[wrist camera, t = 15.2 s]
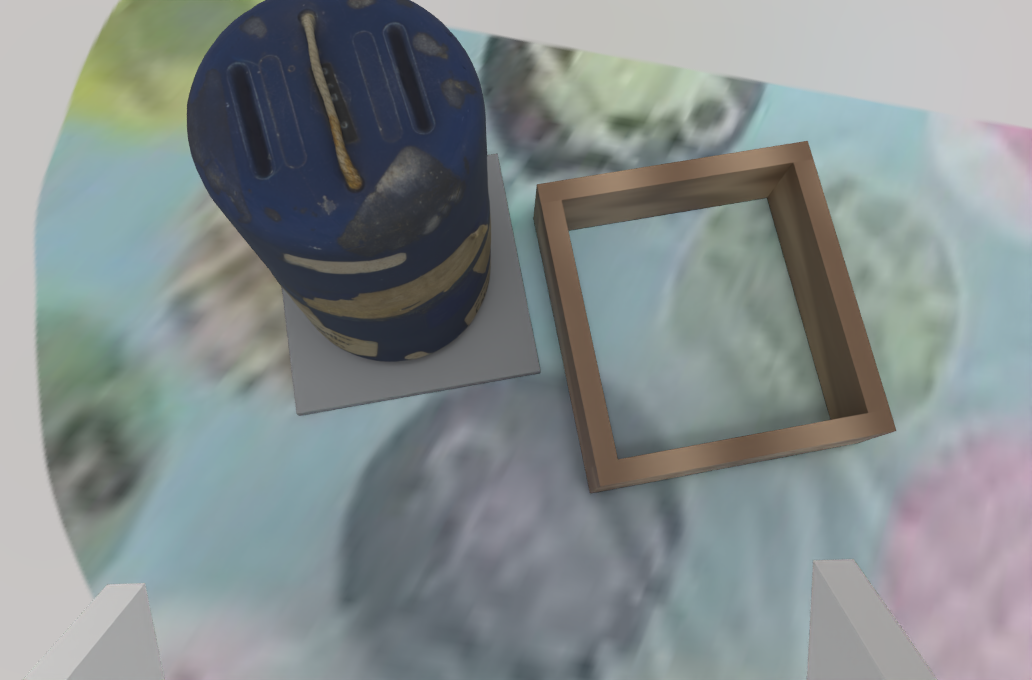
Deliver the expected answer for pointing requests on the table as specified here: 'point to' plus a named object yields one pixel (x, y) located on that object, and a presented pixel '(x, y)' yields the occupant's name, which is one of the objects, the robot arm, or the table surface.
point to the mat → (463, 362)
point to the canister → (352, 166)
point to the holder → (813, 277)
